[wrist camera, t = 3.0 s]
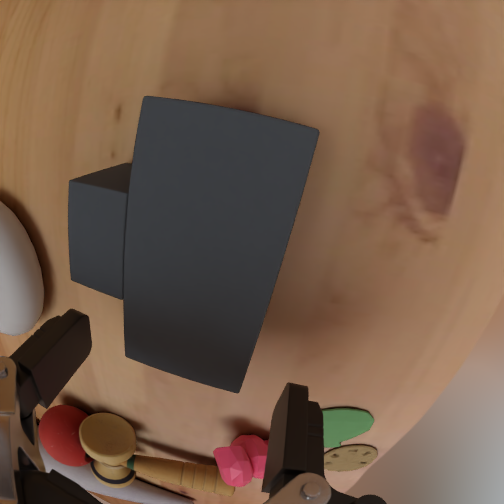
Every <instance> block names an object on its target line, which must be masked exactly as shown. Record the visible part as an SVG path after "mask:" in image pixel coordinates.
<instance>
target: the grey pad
mask: <svg viewBox="0 0 504 504" xmlns="http://www.w3.org/2000/svg"><path fill="white" fill-rule="evenodd" d="M318 137H319V130H318V129H315V128H312V127H308V126H305V125H301V124H298V123H294V122H290V121H286V120H282V119H278V118H274V117H270V116H266V115H262V114H257V113H253V112H248V111H243V110H238V109H233V108H228V107H223V106H217V105H212V104H206V103H199V102H193V101H186V100H179V99H171V98H163V97H154V96H144V98H143V102H142V107H141V112H140V117H139V123H138V128H137V134H136V141H135V147H134V154H133V161H132V164H128V163H124V164H121V165H117V166H114V167H110V168H107V169H103V170H100V171H97V172H94V173H91V174H87V175H84V176H81V177H78V178H75V179H72V180H70V181H69V197H68V236H69V259H70V273H71V280H72V281H75V282H77V283H80V284H82V285H84V286H87V287H89V288H92V289H94V290H97V291H100V292H102V293H105V294H107V295H110V296H113V297H115V298H118V299H121V300H123V303H124V340H125V356H126V357H128V358H130V359H133V360H135V361H138V362H141V363H143V364H146V365H149V366H151V367H154V368H157V369H160V370H162V371H165V372H168V373H171V374H174V375H177V376H180V377H183V378H186V379H189V380H192V381H196V382H199V383H202V384H205V385H209V386H212V387H216V388H219V389H223V390H226V391H230V392H234V393H239V392H240V389H241V386H242V383H243V380H244V378H245V375H246V372H247V369H248V366H249V363H250V360H251V357H252V354H253V351H254V348H255V345H256V342H257V339H258V336H259V333H260V330H261V327H262V324H263V321H264V318H265V315H266V312H267V308H268V305H269V302H270V299H271V296H272V293H273V290H274V287H275V283H276V280H277V277H278V274H279V271H280V267H281V264H282V261H283V258H284V254H285V251H286V248H287V245H288V241H289V238H290V235H291V231H292V228H293V225H294V221H295V218H296V215H297V211H298V208H299V204H300V201H301V197H302V194H303V191H304V187H305V184H306V180H307V177H308V173H309V169H310V166H311V162H312V159H313V155H314V151H315V148H316V144H317V141H318Z"/></svg>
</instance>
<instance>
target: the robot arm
mask: <svg viewBox="0 0 504 504" xmlns="http://www.w3.org/2000/svg"><path fill="white" fill-rule="evenodd" d="M91 347H92V340H91V331H90V322H89V317H88V316H87V315H85V314H83V313H81V312H79V311H77V310H75V309H70V310H68V311H67V312H66V313H65V314H64V315H63V316H62V317H61V316H59V315H58V316H56V317H54V318H52V319H49V320H47V321H46V322H45V323H44V324H43V325H42V326H41V327H40V329H38V330H37V331H36V332H35V333H34V335H32V336H31V337H29V338H28V339H27V340H26V341H25V342H24V343H23V344H22V345H21V346H20V347H19V348H18V349H17V350H16V351H15V352H14V353H13V354H12V355H11V356H10V357H6V356H0V504H102V503H101V502H99V501H98V500H97V499H96V498H94V497H93V496H92V495H91V494H90V493H88V492H87V491H86V490H85V489H84V488H82V487H81V486H80V485H79V484H78V483H76V482H74V481H72V480H71V479H69V478H67V477H65V476H64V475H62V474H60V473H59V472H57V471H56V470H54V469H52V470H51V471H50V473H48V472H46V469H45V465H44V462H43V459H42V457H41V454H40V451H39V444H38V435H37V424H36V411H35V407H36V406H37V404H40V405H41V406H43V407H45V408H46V409H47V408H48V407H49V406H50V404H51V403H52V402H53V400H54V399H55V398H56V396H57V395H58V394H59V392H60V391H61V390H62V388H63V387H64V386H65V385H66V383H67V382H68V381H69V379H70V378H71V377H72V376H73V374H74V373H75V372H76V371H77V369H78V368H79V367H80V366H81V364H82V363H83V362H84V361H85V359H86V358H87V357H88V355H89V353H90V351H91ZM323 426H324V422H323V412H322V410H321V408H320V406H319V404H318V402H313V401H308V387H307V386H303V385H298V384H294V383H289V382H288V383H287V384H286V386H285V388H284V390H283V392H282V394H281V396H280V398H279V400H278V402H277V404H276V406H275V409H274V412H273V415H272V420H271V428H270V435H269V443H268V450H267V457H266V464H265V471H264V478H263V485H262V491H261V492H266V493H270V494H269V499H268V500H267V501H266V502H265V503H263V504H386V502H385V501H384V500H383V499H382V498H380V497H378V496H376V495H364V496H362V497H360V498H355V497H352V496H349V495H346V494H343V493H340V492H338V491H336V490H335V489H333V488H332V487H331V486H330V485H329V483H328V482H327V481H326V478H325V475H324V438H323V436H324V428H323Z"/></svg>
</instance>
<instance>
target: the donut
mask: <svg viewBox="0 0 504 504" xmlns="http://www.w3.org/2000/svg"><path fill="white" fill-rule="evenodd" d="M43 301H44V286H43V279H42V272H41V267H40V264H39V261H38V258H37V255H36V252H35V249H34V247H33V245H32V242H31V240H30V238H29V236H28V234H27V232H26V230H25V228H24V227H23V225H22V224H21V223H20V221H19V220H18V218H17V217H16V215H15V214H14V213H13V212H12V211H11V210H10V209H9V208H8V207H7V206H5V205H4V204H3V203H2V202H1V201H0V332H1V333H5V334H8V335H12V336H16V335H20V334H23V333H26V332H28V331H30V330H31V329H32V328H33V327H34V326H35V324H36V323H37V321H38V319H39V317H40V315H41V313H42V310H43Z"/></svg>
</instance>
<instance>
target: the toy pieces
mask: <svg viewBox="0 0 504 504" xmlns="http://www.w3.org/2000/svg"><path fill="white" fill-rule="evenodd" d="M322 412H323V422H324V426H323V428H324V436H323V438H324V447H339V446H341V444H340V443H339V442H342V441H345V440H348V439H351V438H353V437H356V436H358V435H360V434H362V433H364V432H366V431H368V430H370V428H371V426H372V424H373V422H374V419H373V418H372V416H371V415H370V414H369V412H367V411H362V410H358V409H350V408H336V409H325V410H322ZM268 443H269V440H262V439H261V438H260V437H258V436H256V435H241V436H239V437H238V438H236V439H235V440H234V441H233V442H232V443H231V445H230V446H229V447H221V448H216V449H215V450H214V451H213V453H214V456H215V459H216V462H217V465H218V468H219V471H220V474H221V477H222V479H223V480H224V482H225V483H226V484H227V485H230V486H236V487H242V486H245V485H246V484H248V483H249V482H251V480H252V477H255V478H260V479H262V478H264V471H265V464H266V457H267V450H268ZM366 452H368V453H366ZM333 454H337V455H333ZM377 455H378V453H377V451H376V450H375V449H374V448H372V447H371V446H366V445H350V446H344V447H340V448H336V449H333V450H331V451H329V452H327V453H326V454H324V468H325V469H327V470H329V471H338V472H340V471H352V470H357V469H359V468H362V467H365V466H367V465H369V464H370V463H372V461H373V460H374V459H375V458H376V457H377ZM328 462H330V463H328ZM361 462H365V463H361Z"/></svg>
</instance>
